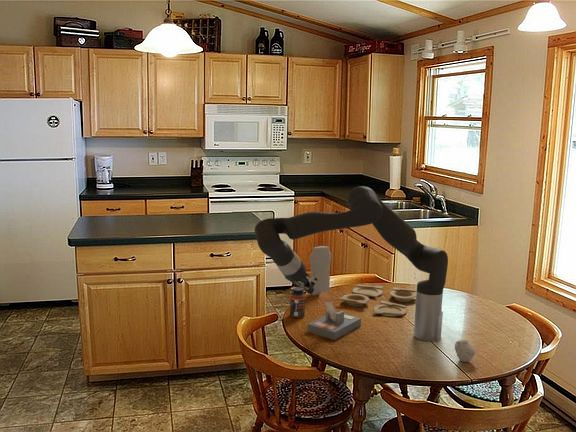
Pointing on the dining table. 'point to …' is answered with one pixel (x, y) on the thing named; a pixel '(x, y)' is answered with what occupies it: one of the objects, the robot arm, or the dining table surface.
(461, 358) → the frog figurine
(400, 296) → the tableware set
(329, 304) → the breaker lever
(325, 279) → the tall pale column
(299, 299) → the supplement bottle
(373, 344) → the dining table surface
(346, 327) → the switch block
